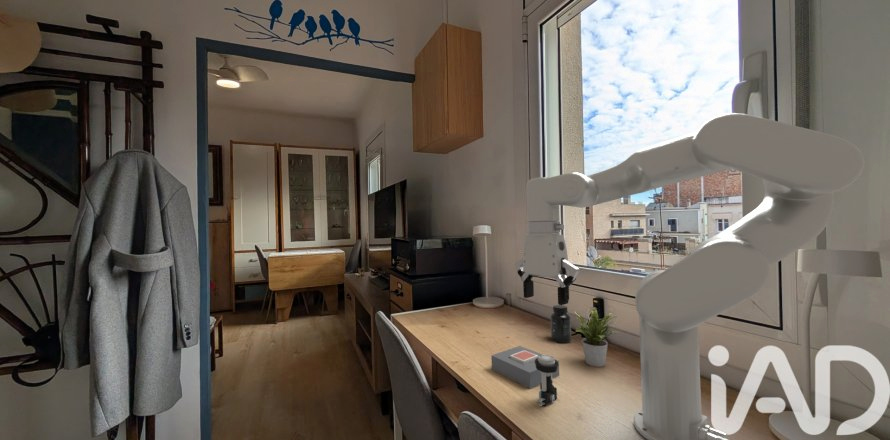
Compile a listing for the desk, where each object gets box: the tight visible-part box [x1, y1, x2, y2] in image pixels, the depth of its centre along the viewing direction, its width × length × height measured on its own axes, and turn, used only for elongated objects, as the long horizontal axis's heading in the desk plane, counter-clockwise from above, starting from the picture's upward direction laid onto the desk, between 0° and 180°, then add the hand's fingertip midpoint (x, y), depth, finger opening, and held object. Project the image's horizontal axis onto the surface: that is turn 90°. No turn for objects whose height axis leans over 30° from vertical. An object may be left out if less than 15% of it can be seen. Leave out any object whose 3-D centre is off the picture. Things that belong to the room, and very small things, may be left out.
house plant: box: [572, 307, 619, 368], centre depth 94 cm, size 14×14×16 cm
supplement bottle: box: [550, 304, 572, 344], centre depth 114 cm, size 7×7×12 cm
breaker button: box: [510, 350, 538, 365], centre depth 90 cm, size 5×6×4 cm
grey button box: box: [491, 345, 560, 389], centre depth 89 cm, size 14×12×4 cm
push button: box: [535, 354, 558, 407], centre depth 74 cm, size 7×5×10 cm
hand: (545, 300), depth 76 cm, fingers open, 9 cm apart
